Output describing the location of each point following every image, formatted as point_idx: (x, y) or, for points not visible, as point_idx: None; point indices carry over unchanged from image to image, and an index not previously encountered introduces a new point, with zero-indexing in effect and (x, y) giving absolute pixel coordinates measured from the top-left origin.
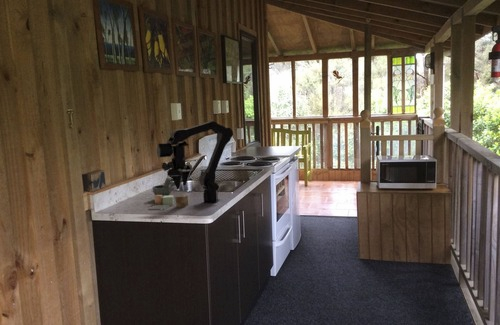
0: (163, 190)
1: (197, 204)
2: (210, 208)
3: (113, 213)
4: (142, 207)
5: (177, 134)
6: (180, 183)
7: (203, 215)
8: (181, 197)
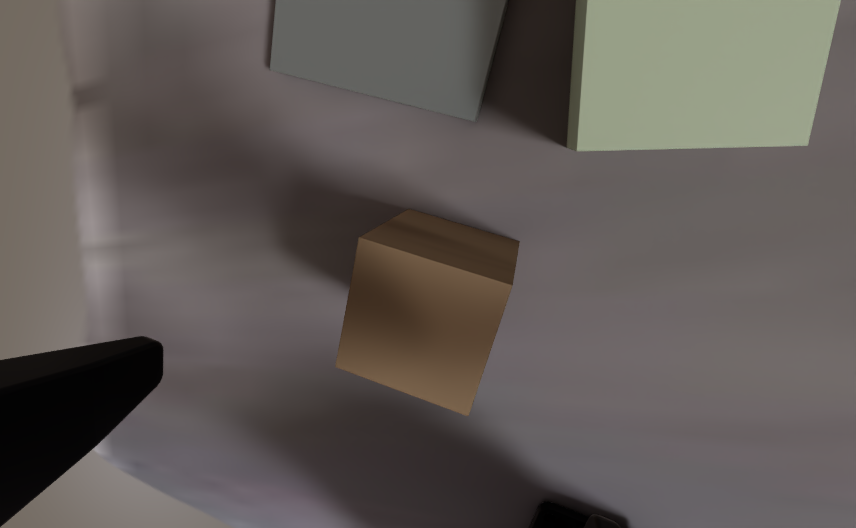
0: None
1: (486, 433)
2: (299, 506)
3: None
4: None
5: None
6: (12, 514)
7: None
8: (345, 324)
